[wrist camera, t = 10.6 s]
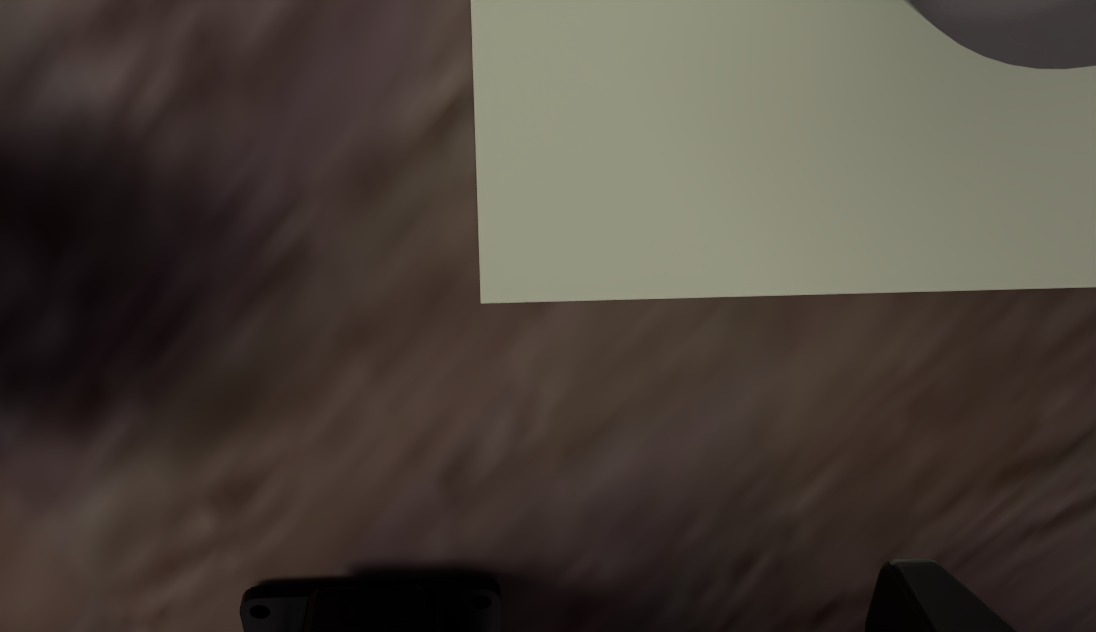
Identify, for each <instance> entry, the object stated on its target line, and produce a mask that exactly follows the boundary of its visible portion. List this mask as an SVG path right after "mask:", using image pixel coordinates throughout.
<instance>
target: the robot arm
mask: <svg viewBox="0 0 1096 632" xmlns="http://www.w3.org/2000/svg"><path fill="white" fill-rule="evenodd" d="M480 595H481V596H483V597H478V596H480ZM259 605H262V606H259ZM240 616H241V621H242V625H243V629H244V632H502V629H501V591H500V586H499V584H498V583H497V582H496V581H495V580H493V579H491V578H488V577H459V578H435V579H411V580H388V581H364V582H340V583H316V584H292V585H269V586H256V587H252V588H250V589H248V590H246V592H245V593H244V594H243V597H242V601H241V606H240ZM865 632H1019V631H1018V630H1017V629H1015V628H1014V627H1013V626H1012V625H1011V624H1010V623H1008V622H1007V621H1006V620H1005V619H1004V618H1003V617H1001V616H1000V615H999V614H998V613H997V612H996V611H994V610H993V609H992V608H991V607H990V606H989V605H988V604H986V603H985V602H984V601H983V600H982V599H981V598H979V597H978V596H977V595H976V594H975V593H974V592H972V591H971V590H970V589H969V588H968V587H967V586H965V585H964V584H963V583H962V582H961V581H960V580H958V579H957V578H956V577H955V576H954V575H953V574H952V573H950V572H949V571H948V570H947V569H946V568H945V567H943V566H942V565H941V564H940V563H938V562H936V561H934V560H932V559H929V558H909V559H891V560H888V561H886V562H885V563H884V564H883V566H882V567H881V569H880V572H879V575H878V579H877V582H876V586H875V589H874V593H873V597H872V600H871V604H870V607H869V611H868V614H867V618H866V623H865Z"/></svg>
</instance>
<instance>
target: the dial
mask: <svg viewBox="0 0 1096 632" xmlns="http://www.w3.org/2000/svg"><path fill="white" fill-rule="evenodd" d="M903 1H904V2H906V3H907V4H908V5H909V6H910V7H912V8H913V9H914V10H915V11H917V12H918V13H919V14H920V15H921V16H923V17H924V18H925V19H926V20H928V21H929V22H930V23H931V24H932V25H934V26H935V27H936V28H937V29H938V30H940V31H941V32H943V33H944V34H945V35H947V36H948V37H950V38H951V39H952V40H954V41H955V42H957V43H958V44H959V45H961V46H963V47H965V48H967V49H969V50H971V51H973V52H975V53H977V54H980V55H982V56H984V57H987V58H990V59H993V60H996V61H1000V62H1003V63H1006V64H1009V65H1015V66H1022V67H1028V68H1035V69H1072V68H1080V67H1089V66H1096V0H903Z"/></svg>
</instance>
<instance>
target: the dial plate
mask: <svg viewBox="0 0 1096 632" xmlns="http://www.w3.org/2000/svg"><path fill="white" fill-rule="evenodd" d="M471 19H472V50H473V80H474V110H475V140H476V171H477V201H478V231H479V262H480V292H481V303H512V302H550V301H588V300H626V299H664V298H701V297H739V296H777V295H815V294H853V293H891V292H928V291H966V290H1004V289H1042V288H1080V287H1096V66H1089V67H1080V68H1072V69H1035V68H1028V67H1022V66H1015V65H1009V64H1006V63H1003V62H1000V61H996V60H993V59H990V58H987V57H984V56H982V55H980V54H977V53H975V52H973V51H971V50H969V49H967V48H965V47H963V46H961V45H959V44H958V43H957V42H955V41H954V40H952V39H951V38H950V37H948V36H947V35H945V34H944V33H943V32H941V31H940V30H938V29H937V28H936V27H935V26H934V25H932V24H931V23H930V22H929V21H928V20H926V19H925V18H924V17H923V16H921V15H920V14H919V13H918V12H917V11H915V10H914V9H913V8H912V7H910V6H909V5H908V4H907V3H906V2H904V1H903V0H471Z"/></svg>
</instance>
